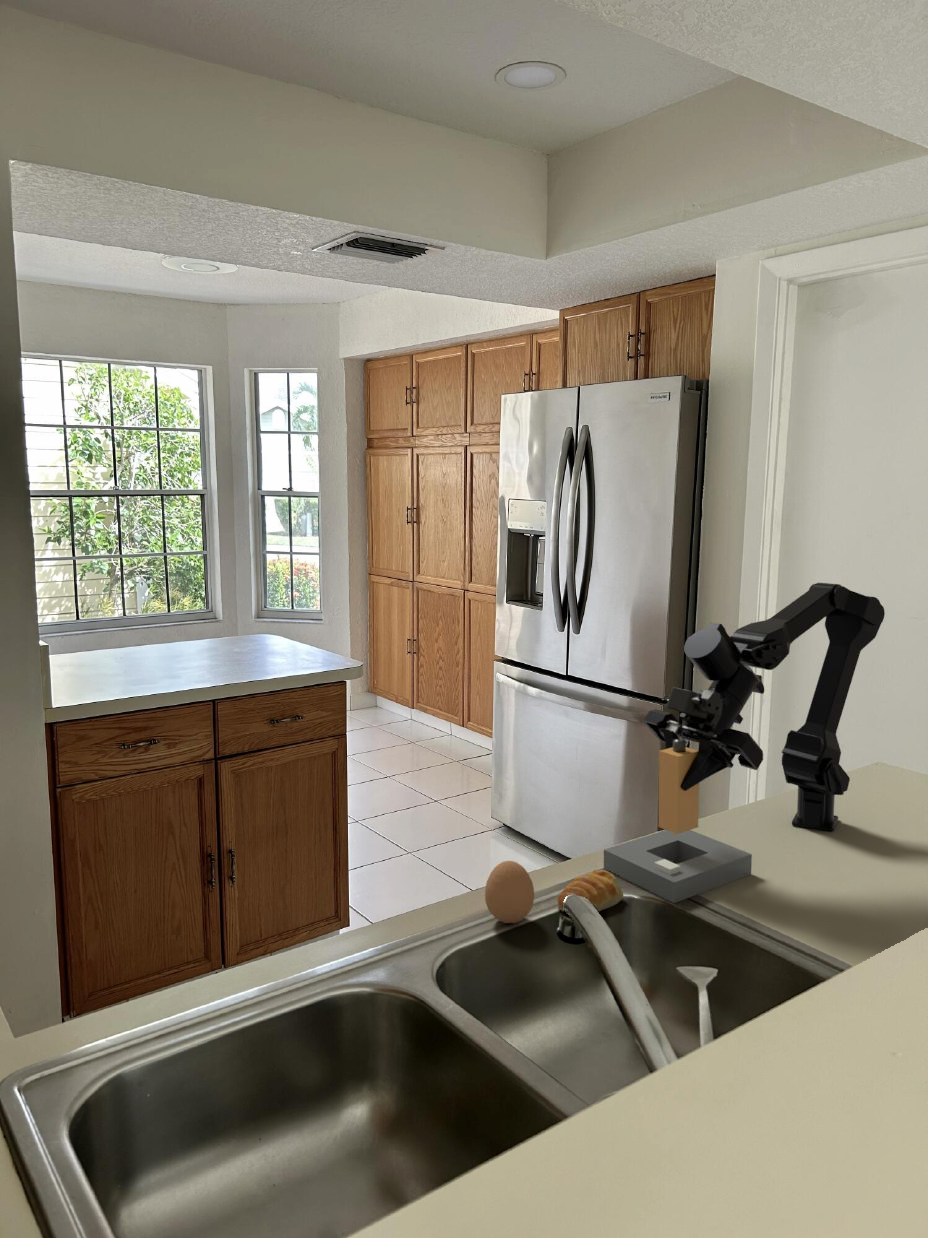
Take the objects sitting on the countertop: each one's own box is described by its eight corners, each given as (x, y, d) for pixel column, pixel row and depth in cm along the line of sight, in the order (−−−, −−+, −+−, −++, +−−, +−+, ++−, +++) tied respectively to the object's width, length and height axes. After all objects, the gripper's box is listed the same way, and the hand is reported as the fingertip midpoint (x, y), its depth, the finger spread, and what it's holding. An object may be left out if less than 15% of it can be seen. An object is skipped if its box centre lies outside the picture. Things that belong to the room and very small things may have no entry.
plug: (679, 820, 135) (680, 735, 133) (698, 827, 132) (699, 740, 130) (658, 826, 133) (659, 740, 131) (677, 834, 130) (678, 746, 128)
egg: (524, 907, 123) (523, 849, 122) (541, 929, 117) (541, 868, 116) (479, 914, 122) (478, 855, 120) (494, 936, 115) (493, 875, 114)
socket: (679, 843, 144) (679, 820, 143) (751, 873, 132) (751, 849, 132) (603, 868, 135) (603, 844, 135) (674, 903, 124) (674, 876, 123)
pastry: (583, 925, 119) (582, 897, 118) (544, 908, 124) (544, 882, 123) (627, 902, 125) (626, 875, 124) (588, 887, 130) (588, 862, 129)
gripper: (652, 657, 139) (598, 740, 135) (752, 677, 124) (695, 771, 119) (687, 699, 145) (636, 780, 140) (787, 723, 129) (733, 815, 125)
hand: (672, 785), depth 131 cm, fingers closed on plug, 4 cm apart
